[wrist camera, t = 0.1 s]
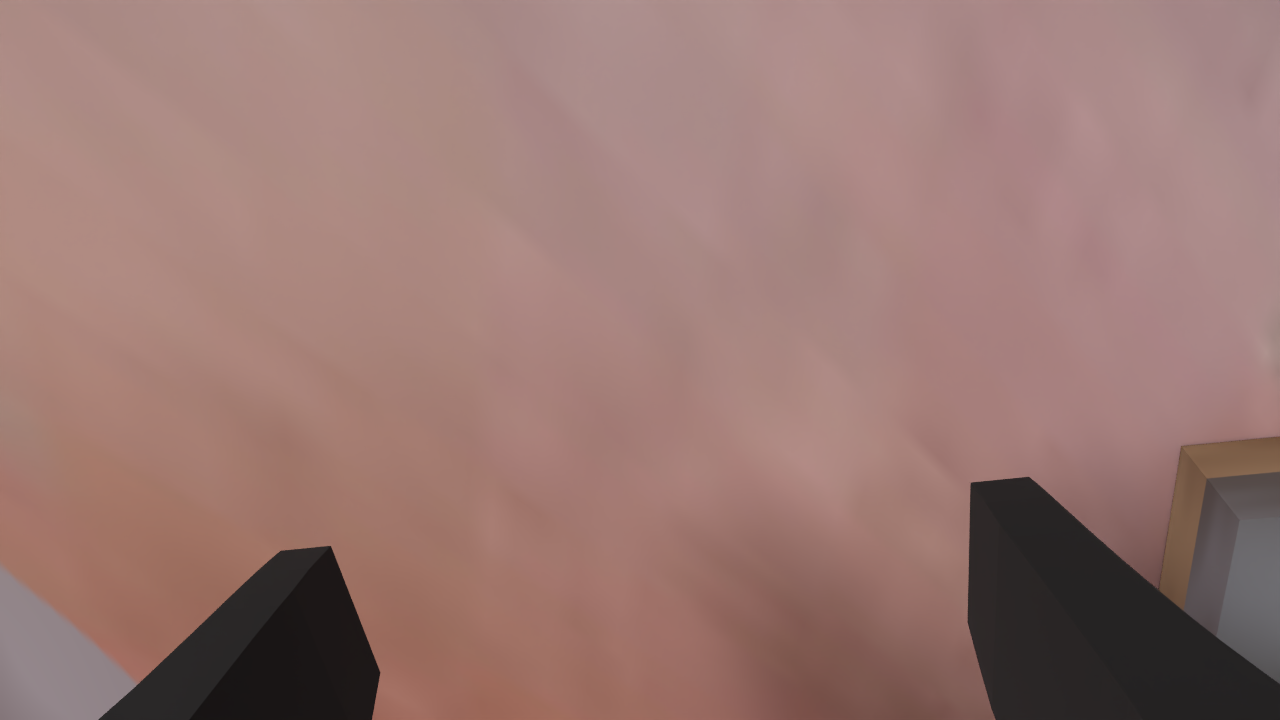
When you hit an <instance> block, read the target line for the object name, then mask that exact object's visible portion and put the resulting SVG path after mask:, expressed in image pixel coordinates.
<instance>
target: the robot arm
mask: <svg viewBox="0 0 1280 720" xmlns="http://www.w3.org/2000/svg"><path fill="white" fill-rule="evenodd" d="M968 625H969V629H970V633H971V636H972V640H973V644H974V648H975V651H976V655H977V659H978V662H979V666H980V670H981V673H982V677H983V680H984V684H985V687H986V691H987V694H988V698H989V701H990V704H991V708H992V711H993V713H994V716H995V718H996V720H1280V684H1279V683H1278V682H1276V681H1275V680H1274V679H1272V678H1271V677H1269V676H1268V675H1267V674H1265V673H1264V672H1263V671H1261V670H1260V669H1259V668H1257V667H1256V666H1255V665H1253V664H1252V663H1251V662H1249V661H1248V660H1247V659H1245V658H1244V657H1243V656H1241V655H1240V654H1238V653H1237V652H1236V651H1234V650H1233V649H1232V648H1230V647H1229V646H1228V645H1226V644H1225V643H1224V642H1222V641H1221V640H1220V639H1219V638H1217V637H1216V636H1215V635H1213V634H1212V633H1211V632H1210V631H1208V630H1207V629H1206V628H1205V627H1203V626H1202V625H1201V624H1199V623H1198V622H1197V621H1196V620H1194V619H1193V618H1192V617H1191V616H1189V615H1188V614H1187V613H1186V612H1184V611H1183V610H1182V609H1181V608H1180V607H1178V606H1177V605H1176V604H1175V603H1174V602H1172V601H1171V600H1170V599H1169V598H1167V597H1166V596H1165V595H1164V594H1163V593H1161V592H1160V591H1159V590H1158V589H1157V588H1155V587H1154V586H1153V585H1152V584H1150V583H1149V582H1148V581H1147V580H1146V579H1144V578H1143V577H1142V576H1141V575H1140V574H1138V573H1137V572H1136V571H1135V570H1134V569H1133V568H1131V567H1130V566H1129V565H1128V564H1127V563H1126V562H1124V561H1123V560H1122V559H1121V558H1120V557H1119V556H1118V555H1116V554H1115V553H1114V552H1113V551H1112V550H1111V549H1110V548H1108V547H1107V546H1106V545H1105V544H1104V543H1103V542H1102V541H1101V540H1099V539H1098V538H1097V537H1096V536H1095V535H1094V534H1093V533H1092V532H1090V531H1089V530H1088V529H1087V528H1086V527H1085V526H1084V525H1083V524H1082V523H1080V522H1079V521H1078V520H1077V519H1076V518H1075V517H1074V516H1073V515H1072V514H1070V513H1069V512H1068V511H1067V510H1066V509H1065V508H1064V507H1063V506H1062V505H1061V504H1059V503H1058V502H1057V501H1056V500H1055V499H1054V498H1053V497H1052V496H1051V495H1050V494H1048V493H1047V492H1046V491H1045V490H1044V489H1043V488H1042V487H1041V486H1039V485H1038V484H1037V483H1036V482H1035V481H1033V480H1032V479H1031V478H1030V477H1023V478H1013V479H1003V480H993V481H983V482H973V483H971V492H970V539H969V586H968ZM379 676H380V671H379V668H378V665H377V663H376V660H375V658H374V655H373V653H372V650H371V648H370V645H369V642H368V640H367V637H366V635H365V632H364V630H363V627H362V625H361V622H360V619H359V617H358V614H357V612H356V609H355V607H354V604H353V602H352V599H351V596H350V594H349V591H348V589H347V586H346V584H345V581H344V579H343V576H342V573H341V571H340V568H339V566H338V563H337V561H336V558H335V556H334V553H333V550H332V548H331V546H325V547H315V548H305V549H295V550H285V551H280V552H279V553H278V554H276V555H275V556H274V557H273V558H272V559H271V560H269V561H268V562H267V563H266V564H265V565H264V566H263V567H261V568H260V569H259V570H258V571H257V572H256V573H255V574H254V575H253V576H252V577H251V578H250V579H248V580H247V581H246V582H245V583H244V584H243V585H242V586H241V587H240V588H239V589H238V590H237V591H236V592H235V593H234V594H233V595H232V596H230V597H229V598H228V599H227V600H226V601H225V602H224V603H223V604H222V605H221V606H220V607H219V608H218V609H217V610H216V611H215V612H214V613H213V614H212V615H211V616H210V617H209V618H208V619H207V620H205V621H204V622H203V623H202V624H201V625H200V626H199V627H198V628H197V629H196V630H195V631H194V632H193V633H192V634H191V635H190V636H189V637H188V638H187V639H186V640H185V641H183V642H182V643H181V644H180V645H179V646H178V647H177V648H176V649H175V650H174V651H173V652H172V653H171V654H170V655H169V656H168V657H167V658H165V659H164V660H163V661H162V662H161V663H160V664H159V665H158V666H157V667H156V668H155V669H154V670H153V671H152V672H151V673H150V674H149V675H148V676H146V677H145V678H144V679H143V680H142V681H141V682H140V683H139V684H138V685H137V686H136V687H135V688H134V689H133V690H131V691H130V692H129V693H128V694H127V695H126V696H125V697H124V698H122V699H121V700H120V701H119V702H118V703H117V704H116V705H115V706H113V707H112V708H111V709H110V710H109V711H108V712H107V713H105V714H104V715H103V716H102V717H101V718H100V719H99V720H372V716H373V710H374V704H375V699H376V693H377V688H378V682H379Z"/></svg>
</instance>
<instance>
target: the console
mask: <svg viewBox="0 0 1280 720" xmlns="http://www.w3.org/2000/svg"><path fill="white" fill-rule="evenodd" d="M1159 591H1160V592H1161V593H1163V594H1164V595H1165V596H1166V597H1167V598H1169V599H1170V600H1171V601H1172V602H1174V603H1175V604H1176V605H1177V606H1178V607H1180V608H1181V609H1182V610H1183V611H1184V612H1186V613H1187V614H1188V615H1189V616H1191V617H1192V618H1193V619H1194V620H1196V621H1197V622H1198V623H1199V624H1201V625H1202V626H1203V627H1205V628H1206V629H1207V630H1208V631H1210V632H1211V633H1212V634H1213V635H1215V636H1216V637H1217V638H1219V639H1220V640H1221V641H1222V642H1224V643H1225V644H1226V645H1228V646H1229V647H1230V648H1232V649H1233V650H1234V651H1236V652H1237V653H1238V654H1240V655H1241V656H1243V657H1244V658H1245V659H1247V660H1248V661H1249V662H1251V663H1252V664H1253V665H1255V666H1256V667H1257V668H1259V669H1260V670H1261V671H1263V672H1264V673H1265V674H1267V675H1268V676H1269V677H1271V678H1272V679H1274V680H1275V681H1276V682H1278V683H1279V684H1280V437H1273V438H1263V439H1252V440H1242V441H1231V442H1221V443H1211V444H1200V445H1190V446H1181V452H1180V458H1179V465H1178V471H1177V478H1176V484H1175V490H1174V497H1173V503H1172V509H1171V516H1170V522H1169V529H1168V535H1167V541H1166V548H1165V554H1164V561H1163V567H1162V573H1161V580H1160V586H1159Z"/></svg>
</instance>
